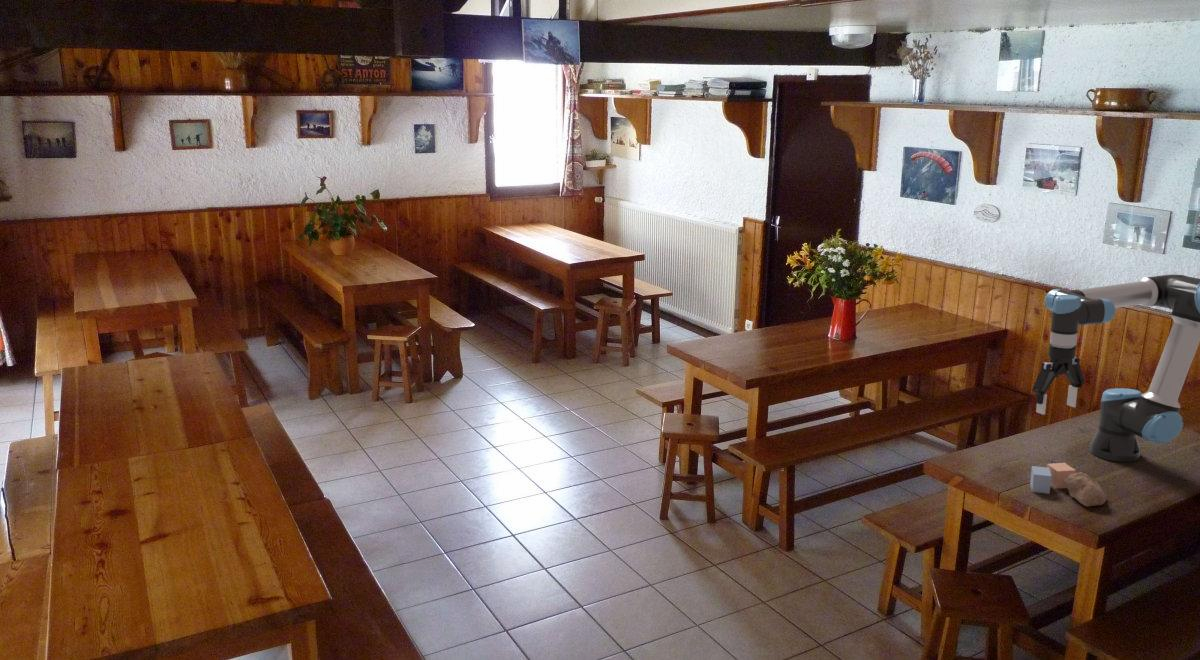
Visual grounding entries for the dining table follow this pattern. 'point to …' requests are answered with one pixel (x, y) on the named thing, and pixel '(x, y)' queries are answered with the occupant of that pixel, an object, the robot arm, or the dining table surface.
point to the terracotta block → (1059, 474)
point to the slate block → (1040, 479)
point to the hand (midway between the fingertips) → (1055, 409)
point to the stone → (1085, 489)
